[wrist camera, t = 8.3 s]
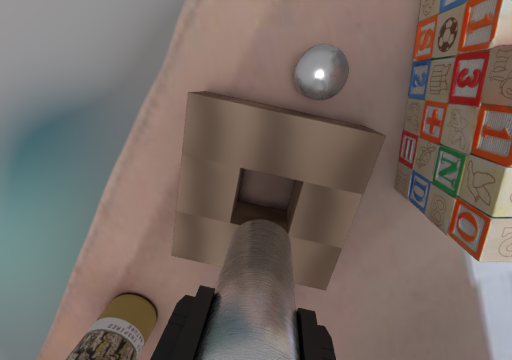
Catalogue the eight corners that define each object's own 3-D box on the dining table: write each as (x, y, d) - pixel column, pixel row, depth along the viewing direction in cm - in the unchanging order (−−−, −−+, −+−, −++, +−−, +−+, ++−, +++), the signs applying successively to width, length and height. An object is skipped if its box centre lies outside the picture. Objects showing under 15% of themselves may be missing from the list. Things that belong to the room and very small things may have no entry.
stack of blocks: (427, -69, 20) (639, -290, 8) (516, -79, 19) (884, -335, 7) (393, 189, 27) (479, 266, 15) (457, 187, 26) (597, 266, 15)
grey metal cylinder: (343, 56, 23) (355, 50, 19) (330, 101, 24) (339, 104, 21) (299, 47, 23) (303, 39, 19) (288, 93, 24) (290, 94, 21)
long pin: (298, 227, 16) (383, 848, 3) (283, 276, 17) (296, 845, 4) (236, 213, 16) (50, 767, 3) (226, 263, 17) (70, 791, 4)
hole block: (365, 126, 25) (385, 135, 20) (318, 259, 30) (325, 290, 26) (205, 91, 25) (188, 92, 20) (187, 229, 30) (171, 255, 26)
